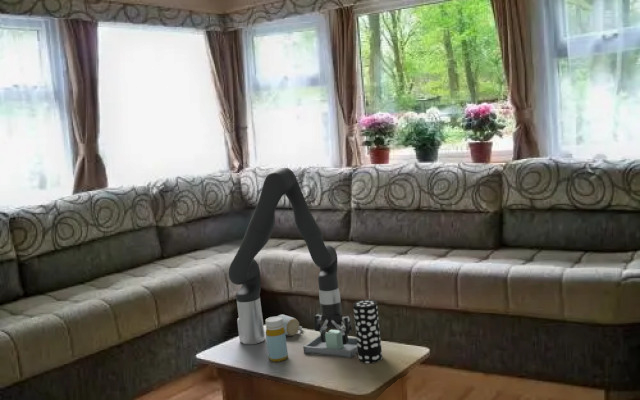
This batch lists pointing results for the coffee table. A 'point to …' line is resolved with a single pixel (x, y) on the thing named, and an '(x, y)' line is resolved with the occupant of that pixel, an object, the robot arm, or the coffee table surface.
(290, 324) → the ceramic mug
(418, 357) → the coffee table surface
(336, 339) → the sage block
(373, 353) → the white-spotted black cylinder
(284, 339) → the bottle
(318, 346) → the gray tray
